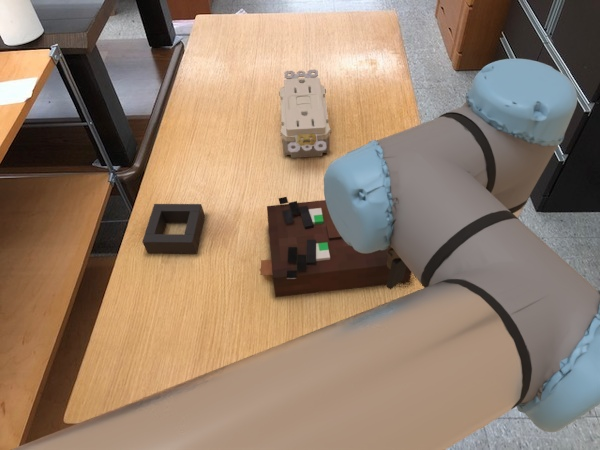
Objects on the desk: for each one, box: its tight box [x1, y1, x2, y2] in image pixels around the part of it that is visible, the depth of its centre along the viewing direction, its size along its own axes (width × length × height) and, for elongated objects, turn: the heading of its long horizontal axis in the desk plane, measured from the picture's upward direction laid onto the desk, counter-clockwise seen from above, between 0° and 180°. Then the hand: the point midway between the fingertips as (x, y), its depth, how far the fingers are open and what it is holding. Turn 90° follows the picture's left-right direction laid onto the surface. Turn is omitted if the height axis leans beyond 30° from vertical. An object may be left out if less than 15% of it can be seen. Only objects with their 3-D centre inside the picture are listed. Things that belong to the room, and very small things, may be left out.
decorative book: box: [260, 196, 412, 298], centre depth 86 cm, size 19×8×30 cm
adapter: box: [141, 203, 206, 255], centre depth 92 cm, size 10×10×4 cm
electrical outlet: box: [278, 68, 332, 159], centre depth 109 cm, size 12×28×10 cm, turn 3°
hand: (432, 315), depth 61 cm, fingers open, 13 cm apart
